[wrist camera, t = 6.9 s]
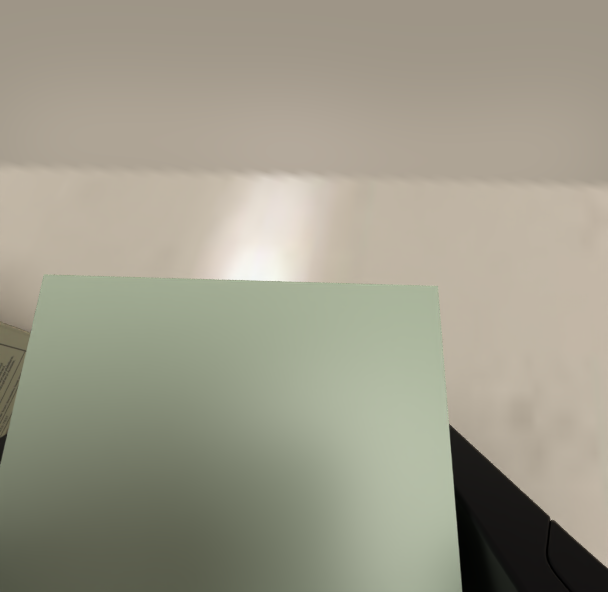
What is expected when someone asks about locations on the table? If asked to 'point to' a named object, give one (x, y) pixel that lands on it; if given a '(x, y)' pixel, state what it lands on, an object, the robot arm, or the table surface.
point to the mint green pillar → (229, 440)
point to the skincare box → (10, 369)
